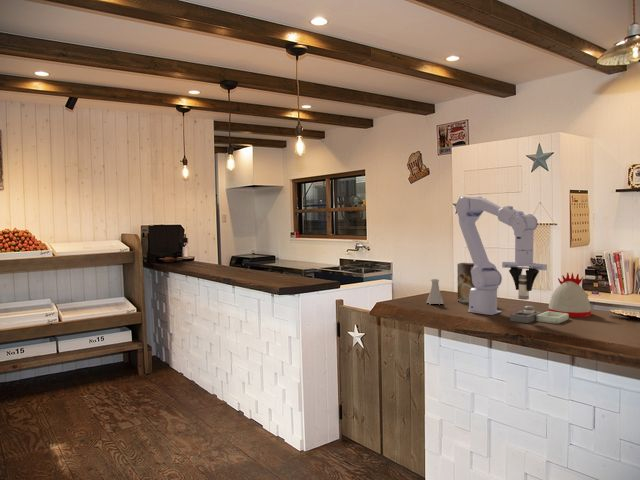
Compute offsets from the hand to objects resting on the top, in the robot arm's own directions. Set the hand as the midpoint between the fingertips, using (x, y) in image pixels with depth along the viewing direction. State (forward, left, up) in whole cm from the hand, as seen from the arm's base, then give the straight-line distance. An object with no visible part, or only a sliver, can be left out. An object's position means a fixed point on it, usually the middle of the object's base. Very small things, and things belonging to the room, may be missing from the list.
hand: (523, 290), depth 169 cm
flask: (-40, +7, -11) cm, 42 cm away
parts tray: (+7, +7, -10) cm, 14 cm away
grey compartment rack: (0, +2, -10) cm, 11 cm away
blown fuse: (0, 0, -3) cm, 3 cm away
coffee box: (-32, +21, -11) cm, 40 cm away
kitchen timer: (+6, +24, -11) cm, 27 cm away
